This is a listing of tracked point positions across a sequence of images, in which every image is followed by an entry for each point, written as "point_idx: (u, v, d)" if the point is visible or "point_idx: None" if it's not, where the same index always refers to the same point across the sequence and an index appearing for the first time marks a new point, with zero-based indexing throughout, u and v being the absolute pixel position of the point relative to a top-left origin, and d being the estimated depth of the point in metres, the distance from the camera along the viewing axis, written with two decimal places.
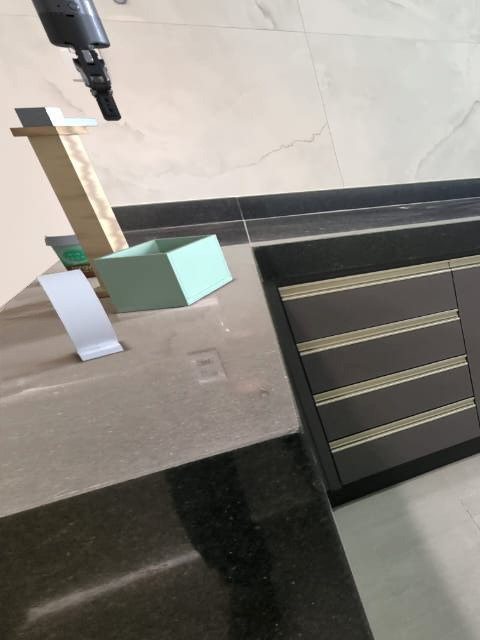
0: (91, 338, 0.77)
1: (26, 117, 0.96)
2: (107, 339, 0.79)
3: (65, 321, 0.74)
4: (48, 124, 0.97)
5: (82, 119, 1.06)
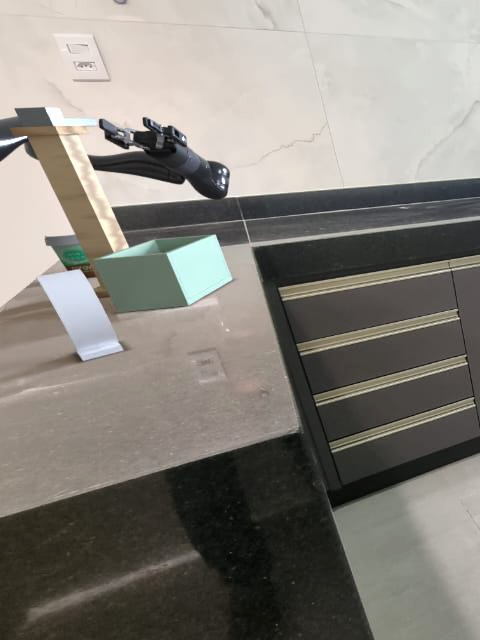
0: (91, 338, 0.77)
1: (26, 117, 0.96)
2: (107, 339, 0.79)
3: (65, 321, 0.74)
4: (48, 124, 0.97)
5: (82, 119, 1.06)
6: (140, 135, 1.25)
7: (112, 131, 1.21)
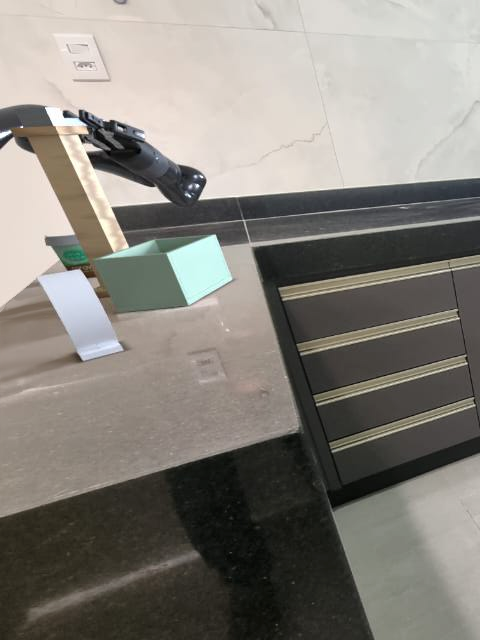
0: (91, 338, 0.77)
1: (26, 117, 0.96)
2: (107, 339, 0.79)
3: (65, 321, 0.74)
4: (48, 124, 0.97)
5: None
6: (99, 133, 1.13)
7: None
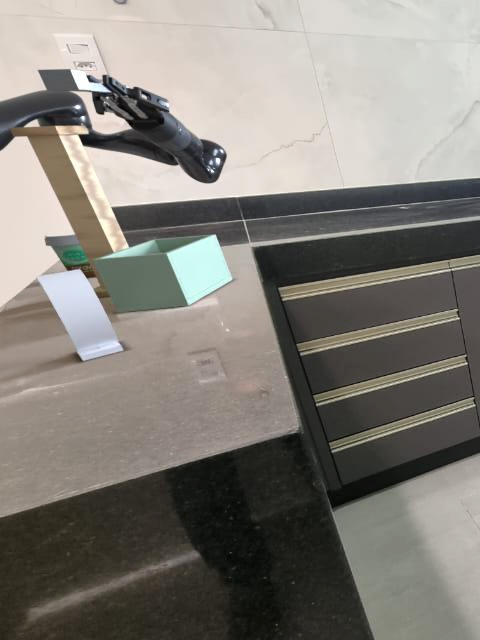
0: (91, 338, 0.77)
1: (50, 80, 0.92)
2: (107, 339, 0.79)
3: (65, 321, 0.74)
4: (73, 87, 0.93)
5: None
6: (122, 101, 1.08)
7: None
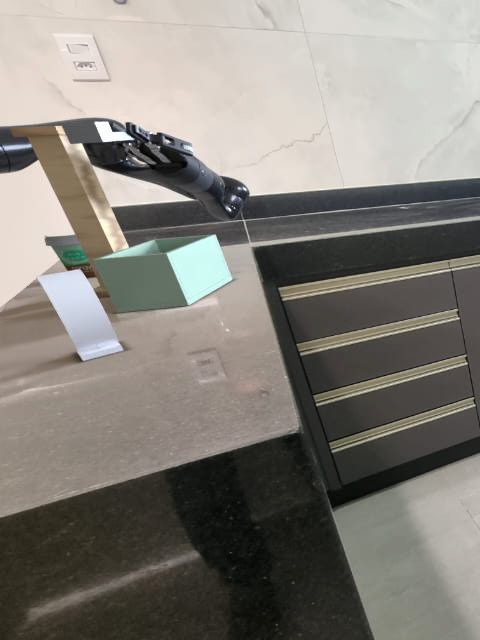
0: (91, 338, 0.77)
1: (73, 133, 0.88)
2: (107, 339, 0.79)
3: (65, 321, 0.74)
4: (97, 140, 0.89)
5: None
6: (144, 147, 1.04)
7: None
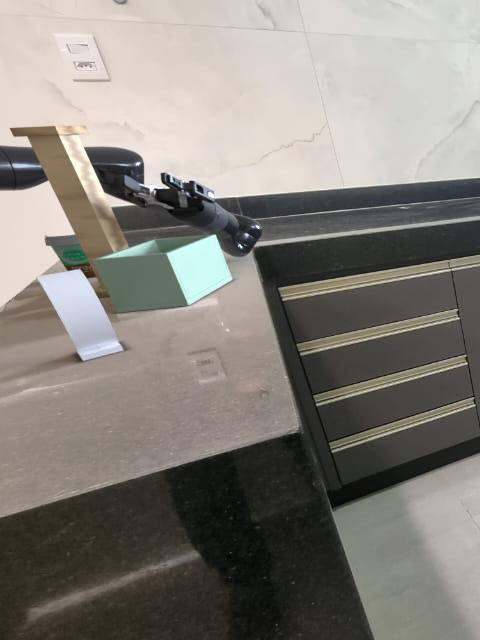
0: (91, 338, 0.77)
1: None
2: (107, 339, 0.79)
3: (65, 321, 0.74)
4: None
5: None
6: (163, 193, 1.08)
7: (135, 189, 1.03)
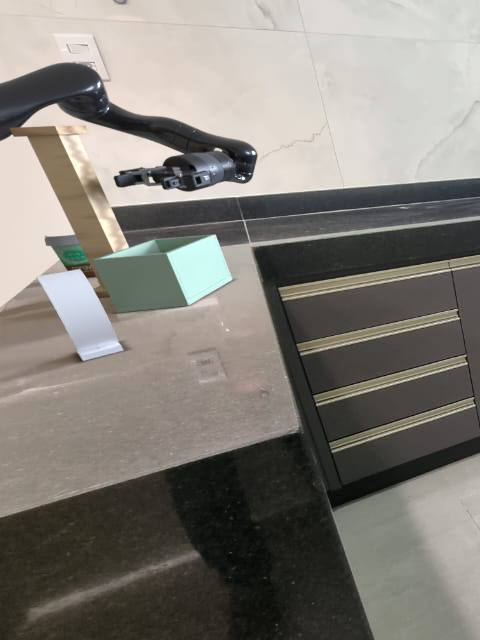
0: (91, 338, 0.77)
1: None
2: (107, 339, 0.79)
3: (65, 321, 0.74)
4: None
5: None
6: (159, 178, 1.10)
7: (130, 183, 1.07)
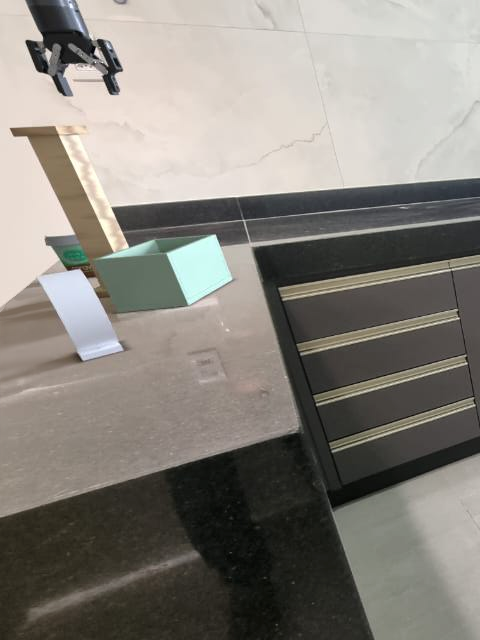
0: (91, 338, 0.77)
1: None
2: (107, 339, 0.79)
3: (65, 321, 0.74)
4: None
5: None
6: (74, 63, 1.11)
7: (66, 82, 1.13)
